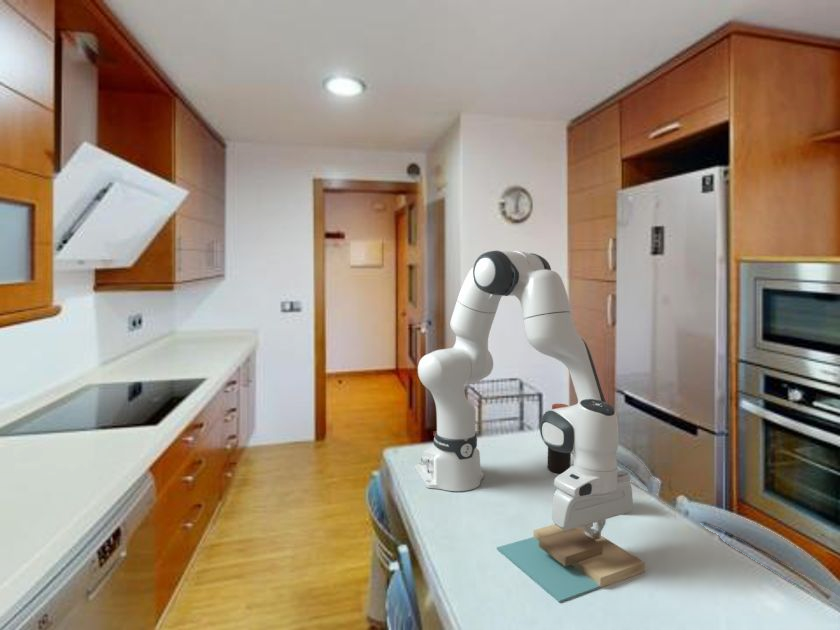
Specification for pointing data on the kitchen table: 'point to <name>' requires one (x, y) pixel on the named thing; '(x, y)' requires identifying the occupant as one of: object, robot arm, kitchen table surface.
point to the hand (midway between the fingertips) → (592, 539)
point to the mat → (548, 570)
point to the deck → (602, 560)
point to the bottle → (558, 454)
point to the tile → (570, 546)
